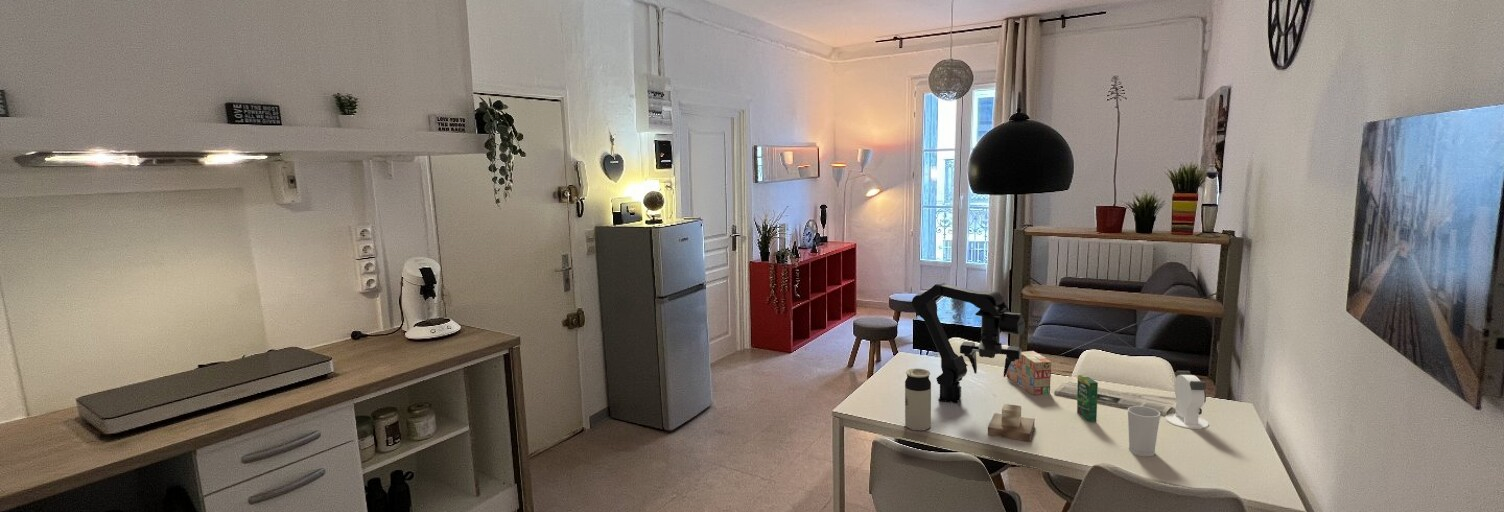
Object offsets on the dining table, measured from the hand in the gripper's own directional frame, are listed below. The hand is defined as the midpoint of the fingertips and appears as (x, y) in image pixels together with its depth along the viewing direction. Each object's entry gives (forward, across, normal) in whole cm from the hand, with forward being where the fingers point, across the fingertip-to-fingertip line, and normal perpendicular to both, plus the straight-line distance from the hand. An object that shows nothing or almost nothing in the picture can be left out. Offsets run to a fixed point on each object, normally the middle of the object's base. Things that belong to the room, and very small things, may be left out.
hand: (989, 375), depth 221 cm
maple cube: (+10, +9, -15) cm, 20 cm away
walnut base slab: (+12, +9, -15) cm, 21 cm away
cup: (+12, +44, -15) cm, 48 cm away
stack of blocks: (+12, +8, +30) cm, 33 cm away
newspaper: (+13, +37, +25) cm, 46 cm away
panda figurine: (+12, +57, +13) cm, 60 cm away
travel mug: (+12, -18, -23) cm, 32 cm away
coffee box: (+12, +29, +5) cm, 32 cm away
